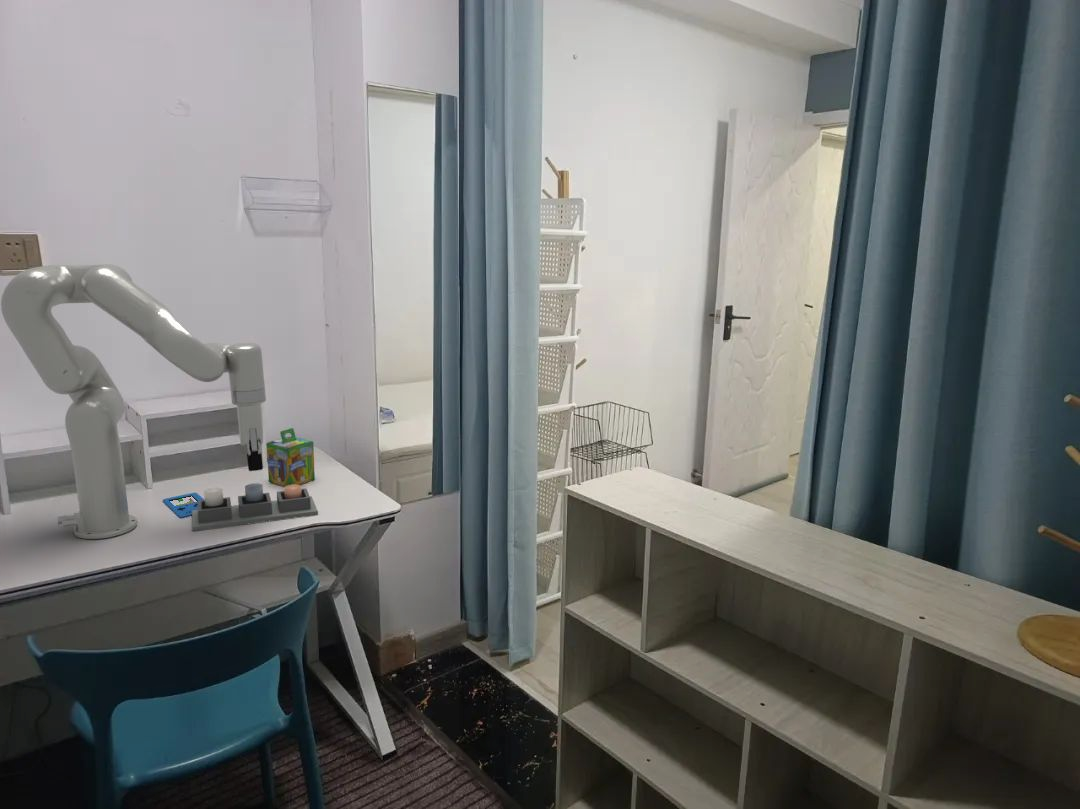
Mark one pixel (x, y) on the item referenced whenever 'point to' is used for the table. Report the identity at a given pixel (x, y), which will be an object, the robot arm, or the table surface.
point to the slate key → (254, 492)
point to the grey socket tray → (252, 511)
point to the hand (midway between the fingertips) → (255, 469)
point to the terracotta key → (293, 491)
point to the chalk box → (290, 460)
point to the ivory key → (213, 496)
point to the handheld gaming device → (183, 505)
